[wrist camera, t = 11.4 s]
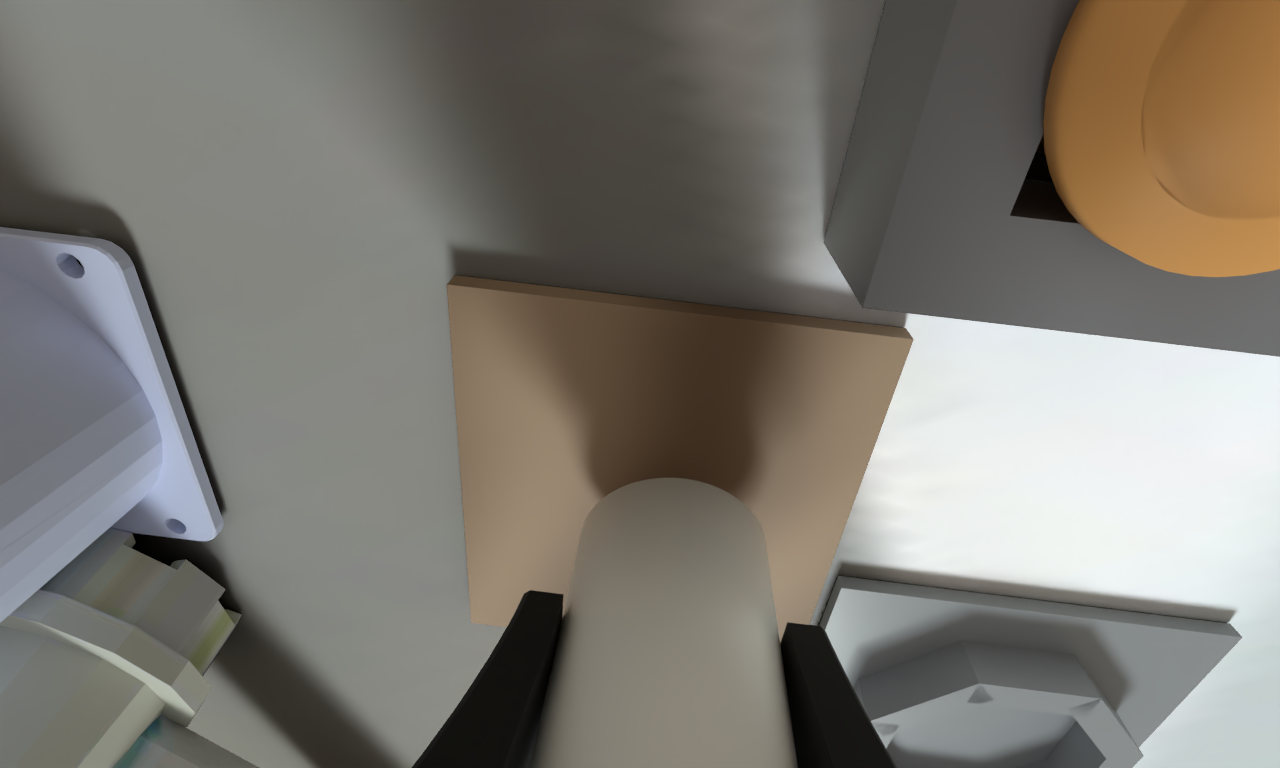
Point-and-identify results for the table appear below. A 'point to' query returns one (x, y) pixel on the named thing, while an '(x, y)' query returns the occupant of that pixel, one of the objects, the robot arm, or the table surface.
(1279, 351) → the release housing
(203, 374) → the table surface
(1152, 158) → the release button
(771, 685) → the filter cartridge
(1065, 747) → the cartridge socket
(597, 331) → the tan board
